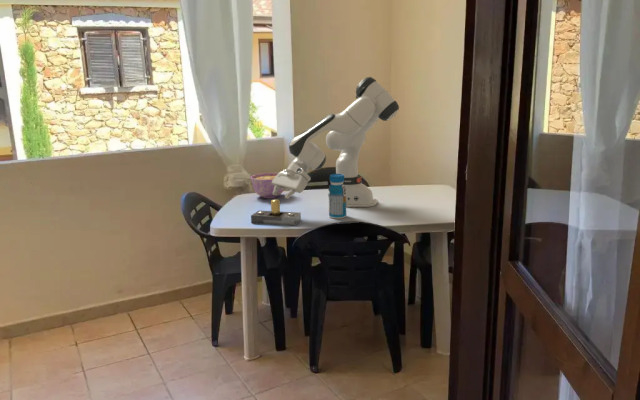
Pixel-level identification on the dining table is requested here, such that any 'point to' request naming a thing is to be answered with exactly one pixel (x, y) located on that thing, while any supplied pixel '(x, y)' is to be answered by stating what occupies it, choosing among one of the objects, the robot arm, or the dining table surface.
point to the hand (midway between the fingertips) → (280, 196)
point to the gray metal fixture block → (276, 218)
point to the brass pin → (275, 207)
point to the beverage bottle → (337, 197)
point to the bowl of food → (265, 185)
